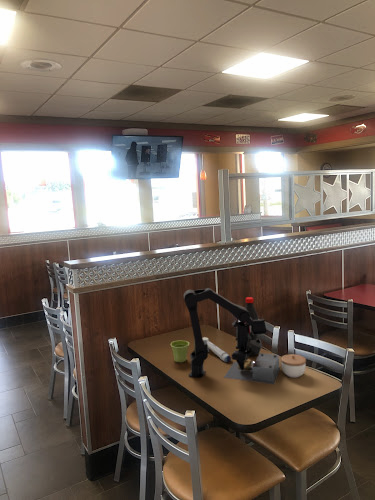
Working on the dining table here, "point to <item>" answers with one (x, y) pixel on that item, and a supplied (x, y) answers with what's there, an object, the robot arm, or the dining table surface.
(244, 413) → the dining table surface
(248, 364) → the silver and amber cylinder
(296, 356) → the lidded jar
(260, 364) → the plate
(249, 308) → the cola bottle
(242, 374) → the mat
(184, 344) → the plant pot
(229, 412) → the dining table surface
